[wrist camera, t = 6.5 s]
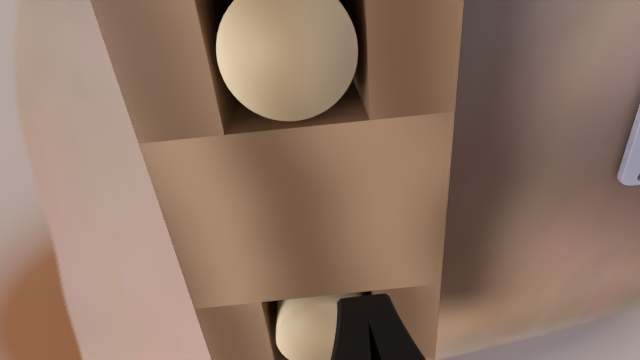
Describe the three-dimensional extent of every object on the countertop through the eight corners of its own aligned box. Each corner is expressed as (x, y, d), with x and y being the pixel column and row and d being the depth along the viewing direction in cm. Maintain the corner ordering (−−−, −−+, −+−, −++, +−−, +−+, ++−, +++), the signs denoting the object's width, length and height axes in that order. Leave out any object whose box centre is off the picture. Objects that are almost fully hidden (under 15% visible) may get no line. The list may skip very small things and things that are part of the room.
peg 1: (338, -41, 15) (355, -31, 11) (344, 70, 17) (360, 114, 13) (226, -29, 15) (201, -15, 11) (246, 80, 17) (231, 127, 13)
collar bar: (420, -116, 14) (474, -136, 10) (408, 301, 25) (433, 380, 20) (128, -87, 14) (58, -94, 10) (237, 318, 25) (225, 401, 20)
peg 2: (353, 228, 21) (368, 299, 17) (356, 286, 23) (370, 363, 19) (274, 236, 21) (269, 309, 17) (284, 293, 23) (282, 371, 19)
